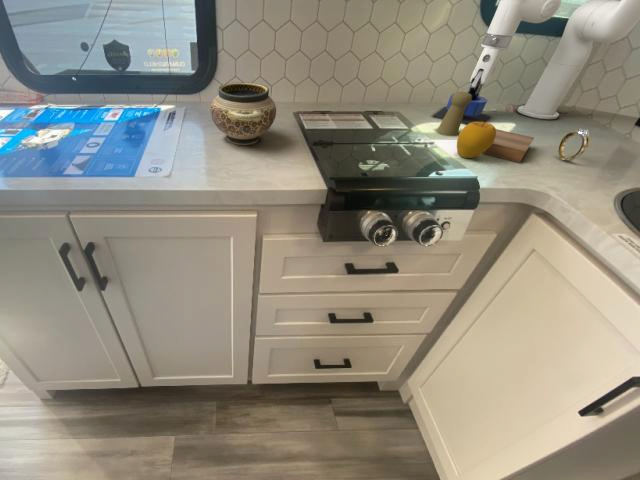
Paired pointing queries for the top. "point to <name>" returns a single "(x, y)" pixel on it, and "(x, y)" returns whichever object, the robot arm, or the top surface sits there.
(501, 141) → the platform
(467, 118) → the mat
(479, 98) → the ring
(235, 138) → the floral ceramic pot
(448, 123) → the tan pawn figure
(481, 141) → the apple
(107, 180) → the top surface
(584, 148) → the ring
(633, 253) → the top surface
